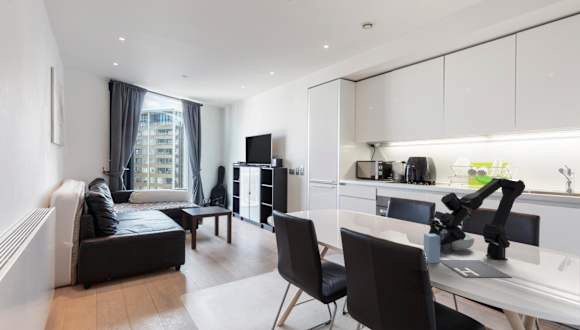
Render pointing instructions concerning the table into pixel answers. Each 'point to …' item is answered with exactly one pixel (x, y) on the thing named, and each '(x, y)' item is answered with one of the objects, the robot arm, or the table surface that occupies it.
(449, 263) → the letter mat
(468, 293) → the table surface
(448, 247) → the box
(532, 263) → the table surface
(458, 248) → the cereal bowl
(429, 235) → the dusty blue block
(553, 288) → the table surface
